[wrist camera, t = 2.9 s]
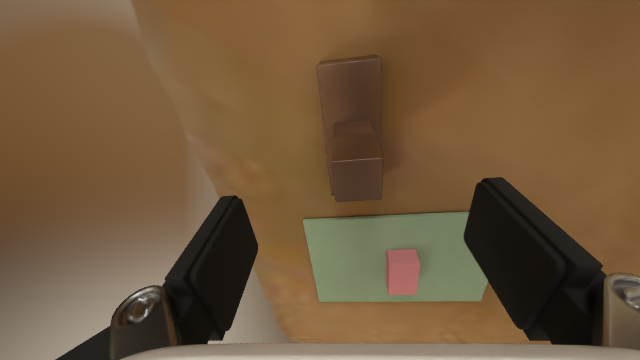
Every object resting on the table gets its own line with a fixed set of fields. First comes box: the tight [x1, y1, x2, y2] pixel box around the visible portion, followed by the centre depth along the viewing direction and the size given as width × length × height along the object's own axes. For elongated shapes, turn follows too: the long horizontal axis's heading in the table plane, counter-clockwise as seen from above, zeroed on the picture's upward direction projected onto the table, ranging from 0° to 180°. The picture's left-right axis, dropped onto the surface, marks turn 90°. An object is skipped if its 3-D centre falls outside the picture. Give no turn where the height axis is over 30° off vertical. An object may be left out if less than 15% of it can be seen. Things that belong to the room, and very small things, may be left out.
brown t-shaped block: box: [317, 55, 383, 202], centre depth 16 cm, size 4×10×8 cm, turn 7°
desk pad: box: [303, 211, 488, 302], centre depth 27 cm, size 20×14×1 cm
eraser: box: [386, 249, 420, 295], centre depth 26 cm, size 3×5×2 cm, turn 7°
